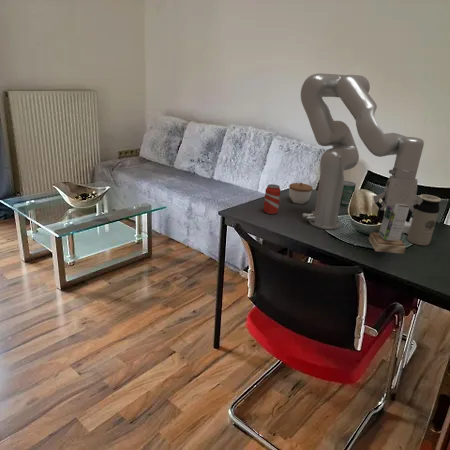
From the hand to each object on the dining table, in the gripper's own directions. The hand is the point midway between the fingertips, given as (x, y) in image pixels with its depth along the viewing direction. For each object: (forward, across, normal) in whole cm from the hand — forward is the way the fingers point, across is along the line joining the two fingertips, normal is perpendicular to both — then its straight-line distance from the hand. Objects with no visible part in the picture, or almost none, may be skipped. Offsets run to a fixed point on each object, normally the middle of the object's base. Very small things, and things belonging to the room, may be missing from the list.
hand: (393, 220), depth 143 cm
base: (+11, 0, 0) cm, 11 cm away
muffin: (+11, +14, +15) cm, 23 cm away
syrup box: (+7, 0, 0) cm, 7 cm away
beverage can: (+11, -39, +31) cm, 51 cm away
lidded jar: (+11, -23, +48) cm, 54 cm away
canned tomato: (+11, -2, +46) cm, 47 cm away
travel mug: (+11, +15, +6) cm, 19 cm away
